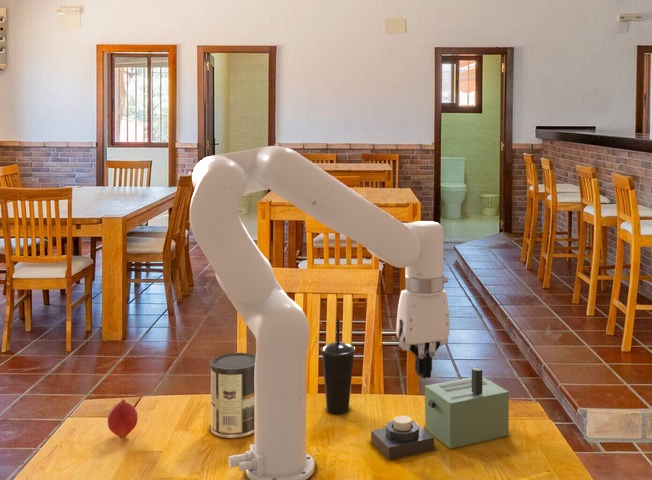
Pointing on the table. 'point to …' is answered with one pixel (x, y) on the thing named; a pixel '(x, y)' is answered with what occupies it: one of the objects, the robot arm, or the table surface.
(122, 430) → the onion
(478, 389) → the slider
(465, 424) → the toaster
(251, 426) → the coffee can
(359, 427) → the table surface
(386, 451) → the control block
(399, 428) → the button
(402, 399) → the table surface
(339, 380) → the drinking cup
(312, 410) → the table surface
